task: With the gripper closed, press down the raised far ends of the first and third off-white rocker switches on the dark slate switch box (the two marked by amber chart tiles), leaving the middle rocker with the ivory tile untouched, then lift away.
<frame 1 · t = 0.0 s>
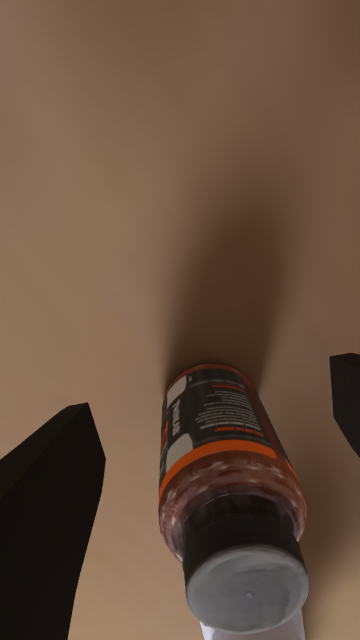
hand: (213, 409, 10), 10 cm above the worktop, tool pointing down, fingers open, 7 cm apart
supplement bottle: (208, 401, 22), on the worktop
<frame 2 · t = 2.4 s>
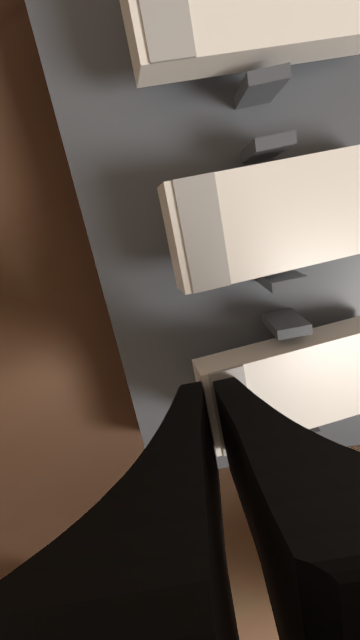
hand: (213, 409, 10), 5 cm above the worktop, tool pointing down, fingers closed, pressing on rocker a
rocker a: (296, 382, 10), point 4 cm above the worktop, hinge at -9.7°, touching gripper
switch box: (258, 214, 13), on the worktop
rocker b: (279, 217, 9), point 4 cm above the worktop, hinge at -10.0°
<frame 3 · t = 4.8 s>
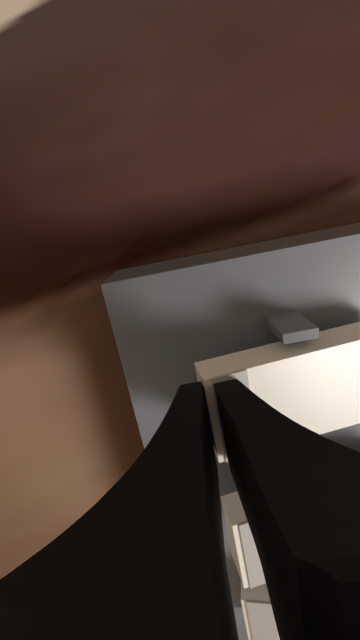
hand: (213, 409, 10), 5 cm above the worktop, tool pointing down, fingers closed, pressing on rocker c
rocker a: (323, 614, 13), point 4 cm above the worktop, hinge at 12.4°
rocker c: (302, 387, 10), point 4 cm above the worktop, hinge at -8.3°, touching gripper
switch box: (287, 433, 16), on the worktop
rocker b: (314, 514, 12), point 4 cm above the worktop, hinge at -10.0°
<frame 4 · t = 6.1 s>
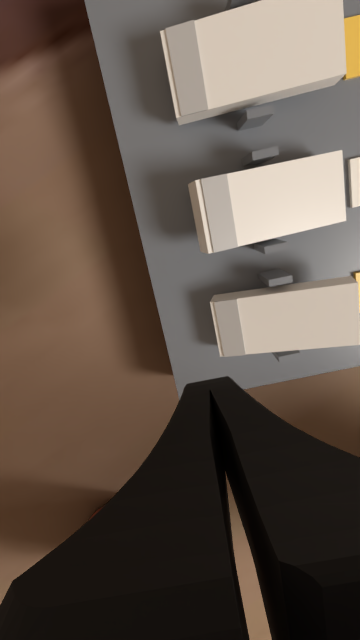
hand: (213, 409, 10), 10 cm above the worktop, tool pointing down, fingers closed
rocker a: (282, 318, 15), point 4 cm above the worktop, hinge at 15.9°
rocker c: (251, 58, 12), point 4 cm above the worktop, hinge at 7.0°
switch box: (254, 203, 18), on the worktop
rocker b: (268, 202, 14), point 4 cm above the worktop, hinge at -10.0°
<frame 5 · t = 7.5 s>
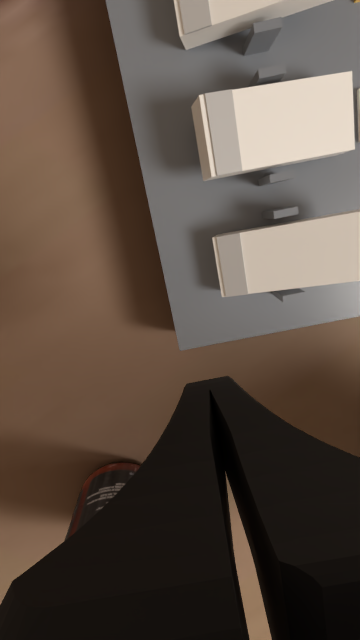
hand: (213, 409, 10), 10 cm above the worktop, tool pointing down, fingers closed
rocker a: (287, 255, 15), point 4 cm above the worktop, hinge at 17.5°, touching switch box
switch box: (258, 147, 17), on the worktop
rocker b: (274, 128, 13), point 4 cm above the worktop, hinge at -10.0°
supplement bottle: (125, 490, 24), on the worktop
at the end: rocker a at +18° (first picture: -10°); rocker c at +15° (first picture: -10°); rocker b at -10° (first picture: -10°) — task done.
